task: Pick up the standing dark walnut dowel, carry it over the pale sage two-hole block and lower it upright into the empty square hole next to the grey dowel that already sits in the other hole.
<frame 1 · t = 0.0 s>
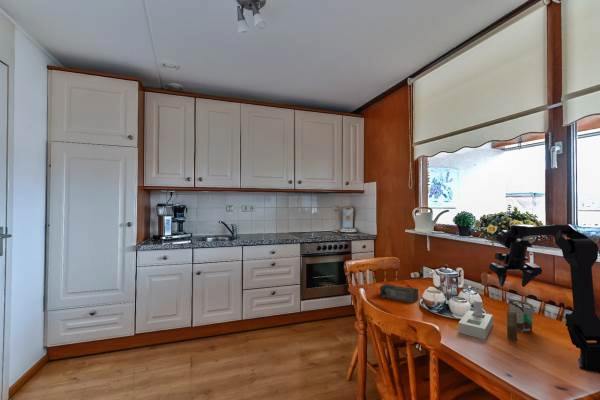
hand: (512, 286, 122), 15 cm above the table, tool pointing down, fingers open, 9 cm apart
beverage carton: (398, 298, 156), on the table
walnut peg: (512, 338, 108), on the table
grey peg: (478, 324, 120), resting in hole block
food container: (525, 328, 116), on the table
hole block: (476, 328, 116), on the table
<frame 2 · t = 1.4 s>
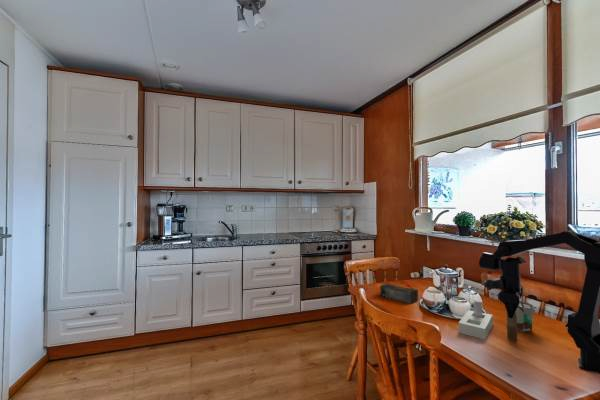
hand: (511, 314, 108), 9 cm above the table, tool pointing down, fingers open, 9 cm apart
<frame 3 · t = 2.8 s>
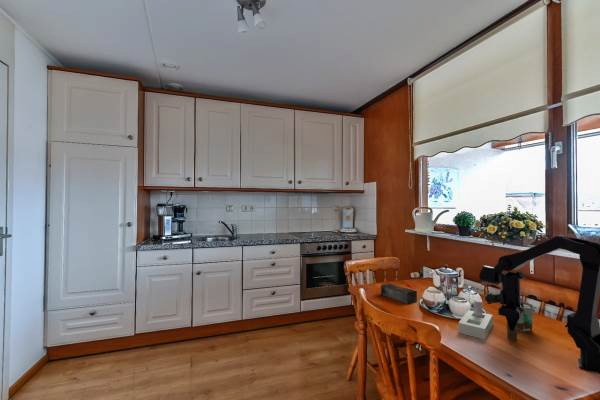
hand: (512, 328, 108), 4 cm above the table, tool pointing down, fingers closed on walnut peg, 3 cm apart
walnut peg: (512, 338, 108), on the table, touching gripper
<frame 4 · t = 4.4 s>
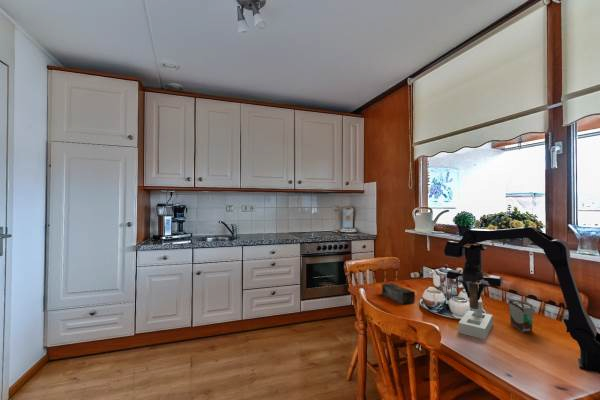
hand: (473, 298, 113), 13 cm above the table, tool pointing down, fingers closed on walnut peg, 3 cm apart
walnut peg: (473, 307, 113), point 10 cm above the table, touching gripper
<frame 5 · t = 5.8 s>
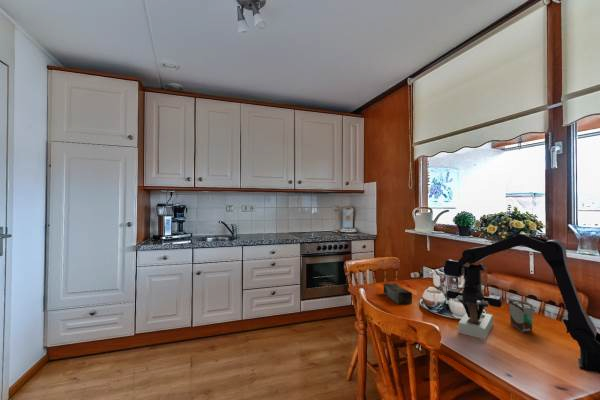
hand: (473, 318, 113), 5 cm above the table, tool pointing down, fingers closed on walnut peg, 3 cm apart
walnut peg: (474, 327, 113), point 2 cm above the table, touching gripper
when the fingers open (5 cm above the table, at t = 6.5 s): walnut peg drops 1 cm, resting in hole block.
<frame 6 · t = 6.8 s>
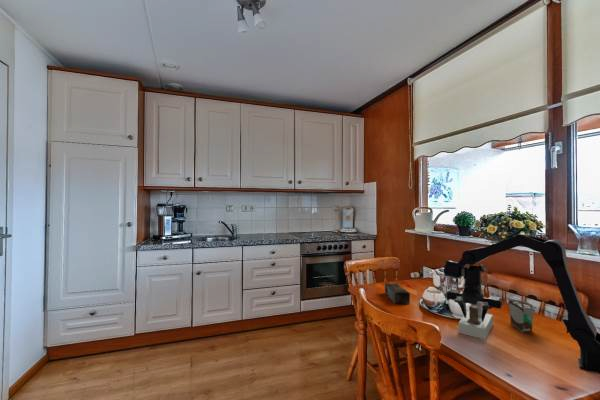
hand: (473, 319, 113), 5 cm above the table, tool pointing down, fingers open, 6 cm apart
walnut peg: (474, 332, 113), resting in hole block
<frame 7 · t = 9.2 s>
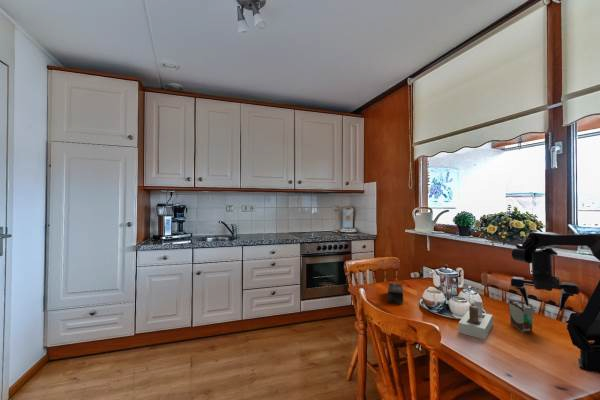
hand: (543, 308, 104), 13 cm above the table, tool pointing down, fingers open, 9 cm apart
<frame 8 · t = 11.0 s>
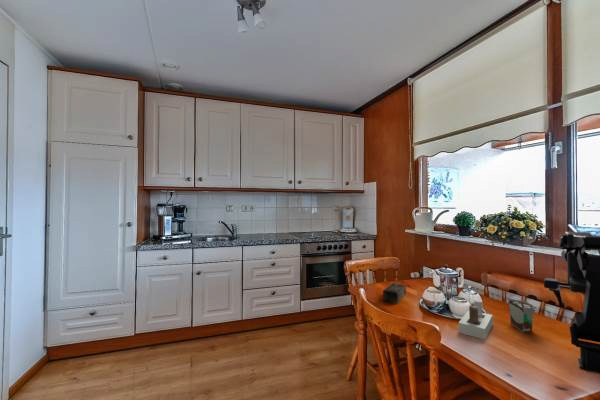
hand: (579, 311, 100), 13 cm above the table, tool pointing down, fingers open, 9 cm apart
at the end: walnut peg 0.0 cm from the target spot, resting in hole block; walnut peg tilted 0°; the gripper is holding nothing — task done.
